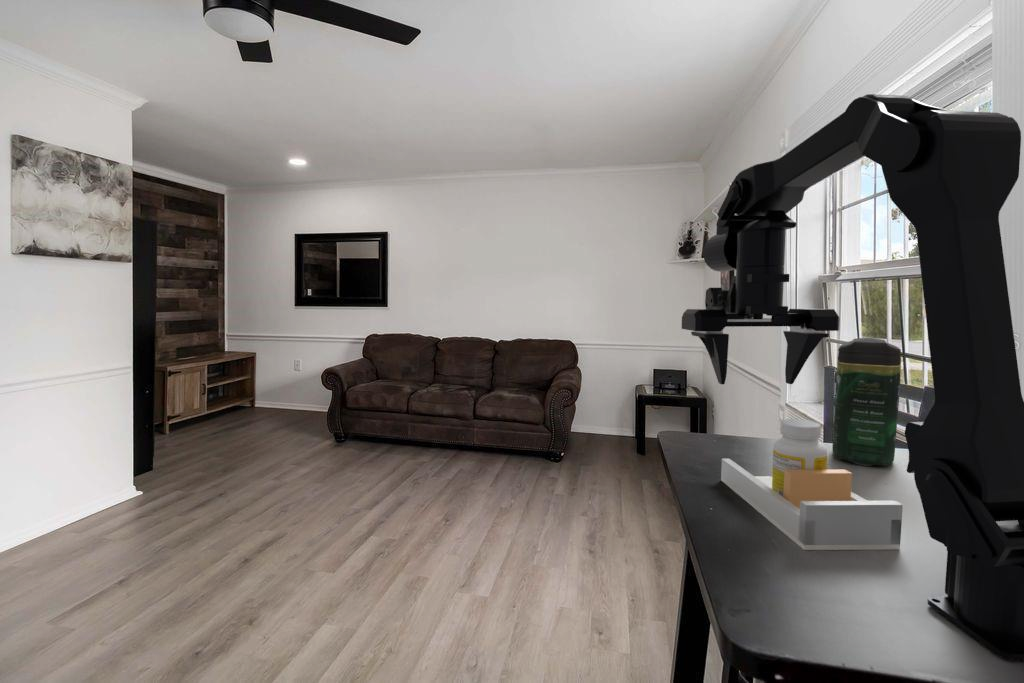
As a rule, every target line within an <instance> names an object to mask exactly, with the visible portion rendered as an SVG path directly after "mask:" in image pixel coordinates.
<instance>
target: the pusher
mask: <svg viewBox="0 0 1024 683" xmlns="http://www.w3.org/2000/svg"><path fill="white" fill-rule="evenodd" d="M852 478H853V472H850V471H849V470H847V469H844V468H842V469H841V468H840V469H834V468H833V469H830V468H829V469H828V468H827V470H784V493H783V497H784V498H785V499H787V500H788V501H789V502H791V503H792V504H794V505H795V506H796V507H798V508H799V509H800V501H851V492H852V482H853V481H852V480H853V479H852Z"/></svg>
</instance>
